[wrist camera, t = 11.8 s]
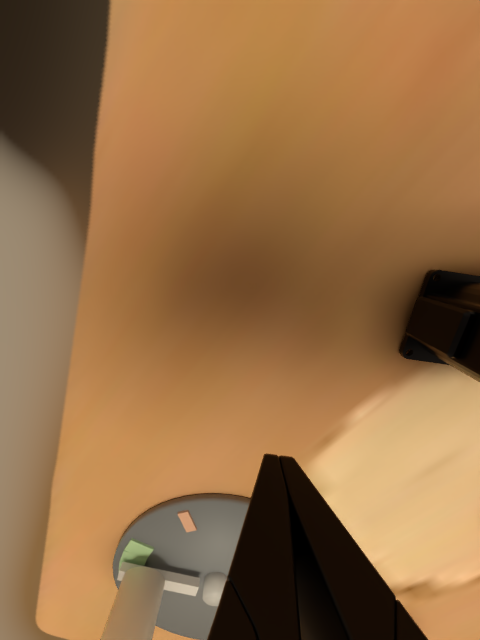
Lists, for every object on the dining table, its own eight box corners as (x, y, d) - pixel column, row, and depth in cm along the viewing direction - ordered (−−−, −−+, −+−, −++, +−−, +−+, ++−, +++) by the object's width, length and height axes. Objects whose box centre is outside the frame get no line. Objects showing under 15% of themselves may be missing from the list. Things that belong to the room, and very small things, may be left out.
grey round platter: (341, 508, 24) (351, 534, 22) (295, 640, 30) (298, 670, 28) (117, 480, 23) (104, 503, 21) (116, 619, 29) (106, 649, 27)
